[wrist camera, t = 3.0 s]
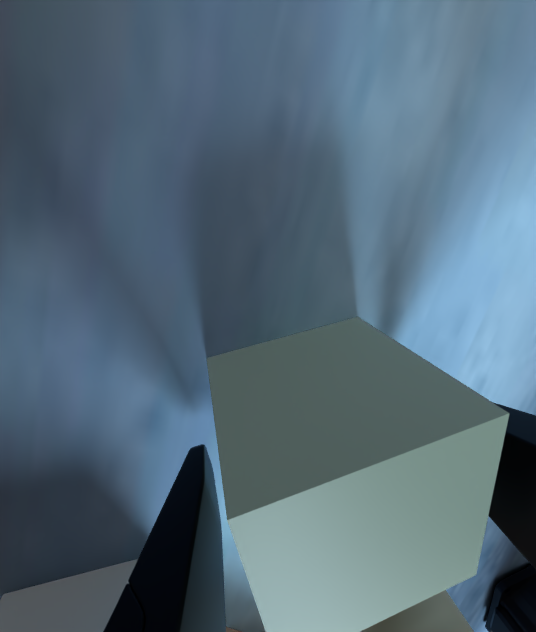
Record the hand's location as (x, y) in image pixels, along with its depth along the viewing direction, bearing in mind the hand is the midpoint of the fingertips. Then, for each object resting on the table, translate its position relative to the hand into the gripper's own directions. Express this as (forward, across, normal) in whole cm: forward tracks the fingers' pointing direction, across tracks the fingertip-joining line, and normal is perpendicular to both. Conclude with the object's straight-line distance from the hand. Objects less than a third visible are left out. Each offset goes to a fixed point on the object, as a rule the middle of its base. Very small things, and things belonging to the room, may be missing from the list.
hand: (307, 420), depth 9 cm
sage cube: (+1, 0, 0) cm, 1 cm away
